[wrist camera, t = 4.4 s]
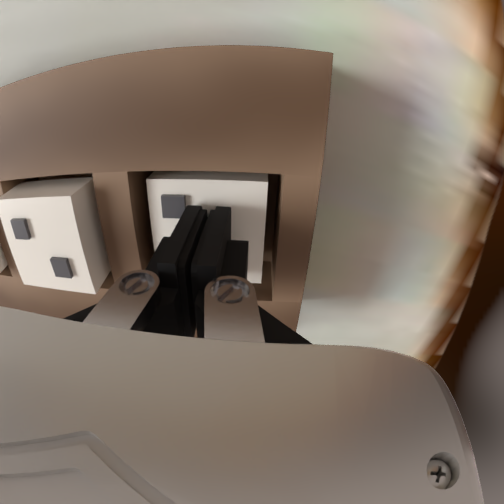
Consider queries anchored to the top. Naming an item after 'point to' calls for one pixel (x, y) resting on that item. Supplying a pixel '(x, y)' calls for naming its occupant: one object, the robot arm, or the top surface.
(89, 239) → the button
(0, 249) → the button
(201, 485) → the robot arm
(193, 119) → the wooden slot board
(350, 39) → the top surface
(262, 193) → the button
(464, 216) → the top surface
